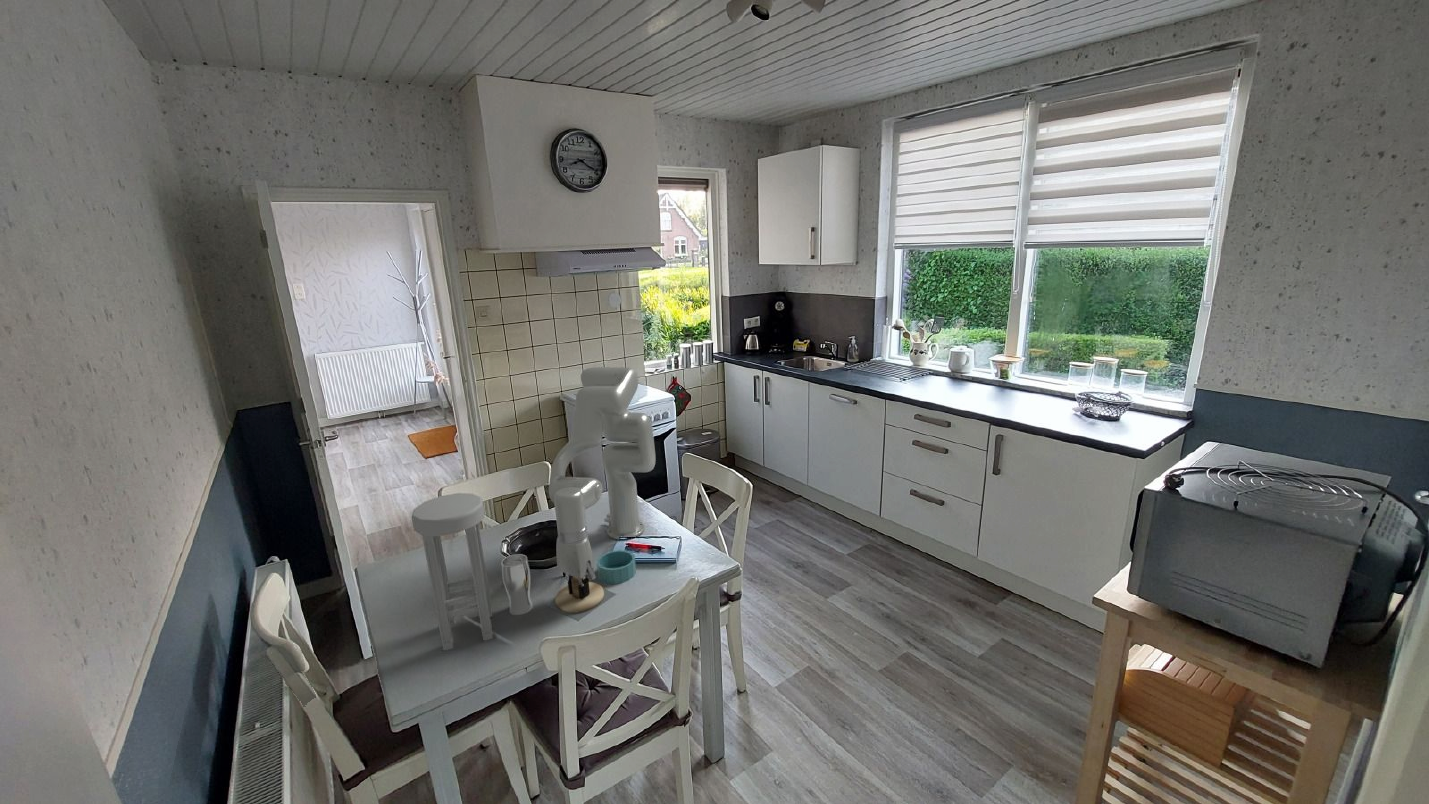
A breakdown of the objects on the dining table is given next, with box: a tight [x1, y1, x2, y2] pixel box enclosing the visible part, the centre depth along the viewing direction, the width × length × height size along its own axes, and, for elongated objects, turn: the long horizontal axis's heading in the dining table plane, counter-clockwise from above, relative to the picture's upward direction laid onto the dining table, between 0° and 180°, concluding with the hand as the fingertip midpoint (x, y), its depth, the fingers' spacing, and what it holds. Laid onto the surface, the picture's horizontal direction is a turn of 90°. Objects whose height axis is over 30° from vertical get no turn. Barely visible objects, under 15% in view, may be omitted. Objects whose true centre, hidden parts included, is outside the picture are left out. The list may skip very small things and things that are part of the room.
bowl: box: [596, 549, 637, 585], centre depth 171 cm, size 11×11×5 cm
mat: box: [542, 588, 617, 622], centre depth 160 cm, size 14×14×1 cm
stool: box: [411, 492, 494, 651], centre depth 144 cm, size 16×16×35 cm
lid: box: [554, 577, 604, 613], centre depth 159 cm, size 13×13×6 cm
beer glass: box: [500, 553, 534, 616], centre depth 155 cm, size 7×7×15 cm
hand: (579, 593), depth 159 cm, fingers closed on lid, 3 cm apart
